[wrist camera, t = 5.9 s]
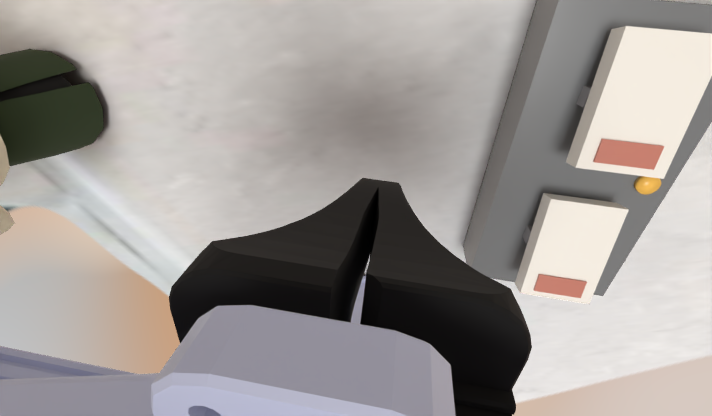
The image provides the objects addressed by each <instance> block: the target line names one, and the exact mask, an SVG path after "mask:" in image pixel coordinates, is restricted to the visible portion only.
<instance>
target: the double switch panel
mask: <svg viewBox="0 0 712 416" xmlns="http://www.w3.org/2000/svg"><path fill="white" fill-rule="evenodd" d="M624 26H632V27H643V28H654V29H666V30H677V31H688V32H699V33H711V34H712V5H709V4H697V3H684V2H672V1H660V0H537V2H536V5H535V8H534V12H533V15H532V18H531V22H530V25H529V28H528V32H527V35H526V38H525V42H524V45H523V48H522V52H521V55H520V58H519V62H518V65H517V68H516V72H515V75H514V78H513V82H512V85H511V88H510V92H509V95H508V98H507V102H506V105H505V108H504V112H503V115H502V118H501V122H500V125H499V128H498V132H497V135H496V138H495V142H494V145H493V148H492V152H491V155H490V158H489V162H488V165H487V168H486V172H485V175H484V178H483V182H482V185H481V188H480V192H479V195H478V198H477V202H476V205H475V208H474V212H473V215H472V218H471V222H470V225H469V228H468V232H467V235H466V238H465V242H464V245H463V248H464V253H465V258H466V263H467V265H469V266H470V267H472V268H474V269H475V270H477V271H478V272H480V273H482V274H483V275H485V276H487V277H489V278H493V279H499V280H505V281H512V282H515V281H516V278H517V274H518V271H519V268H520V265H521V262H522V259H523V256H524V252H525V249H526V246H527V243H528V240H529V237H530V233H531V230H532V227H533V224H534V221H535V218H536V215H537V211H538V208H539V205H540V202H541V199H542V196H543V193H548V194H555V195H563V196H570V197H578V198H585V199H593V200H600V201H607V202H615V203H618V204H620V205H622V206H623V207H625V208H627V209H629V211H628V213H627V215H626V218H625V220H624V223H623V225H622V227H621V230H620V232H619V234H618V237H617V239H616V242H615V244H614V246H613V249H612V251H611V253H610V256H609V258H608V261H607V263H606V265H605V268H604V270H603V273H602V275H601V277H600V280H599V282H598V284H597V287H596V289H595V292H594V295H600V296H603V295H604V293H605V292H606V290H607V289H608V287H609V285H610V284H611V282H612V281H613V279H614V277H615V276H616V274H617V273H618V271H619V269H620V268H621V266H622V264H623V263H624V261H625V260H626V258H627V256H628V255H629V253H630V252H631V250H632V248H633V247H634V245H635V244H636V242H637V240H638V239H639V237H640V236H641V234H642V232H643V231H644V229H645V228H646V226H647V224H648V223H649V221H650V220H651V218H652V216H653V215H654V213H655V212H656V210H657V208H658V207H659V205H660V204H661V202H662V200H663V199H664V197H665V196H666V194H667V192H668V191H669V189H670V188H671V186H672V184H673V183H674V181H675V180H676V178H677V176H678V175H679V173H680V172H681V170H682V168H683V167H684V165H685V164H686V162H687V160H688V159H689V157H690V155H691V154H692V152H693V151H694V149H695V147H696V146H697V144H698V143H699V141H700V139H701V138H702V136H703V135H704V133H705V131H706V130H707V128H708V127H709V125H710V123H711V122H712V76H711V79H710V81H709V83H708V85H707V87H706V89H705V91H704V94H703V96H702V98H701V100H700V102H699V104H698V106H697V109H696V111H695V113H694V115H693V117H692V119H691V121H690V124H689V126H688V128H687V130H686V132H685V134H684V136H683V139H682V141H681V143H680V145H679V147H678V149H677V151H676V154H675V156H674V158H673V160H672V162H671V164H670V166H669V169H668V171H667V173H666V175H665V177H664V179H661V178H653V177H645V176H637V175H629V174H621V173H613V172H605V171H598V170H590V169H582V168H575V167H573V166H572V165H570V164H568V163H566V160H567V157H568V154H569V151H570V148H571V145H572V142H573V139H574V136H575V134H576V131H577V128H578V125H579V122H580V119H581V116H582V113H583V110H584V107H585V104H586V102H587V99H588V96H589V93H590V90H591V87H592V84H593V81H594V78H595V75H596V73H597V70H598V67H599V64H600V61H601V58H602V55H603V52H604V49H605V46H606V43H607V41H608V38H609V35H610V32H611V29H614V28H619V27H624Z"/></svg>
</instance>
